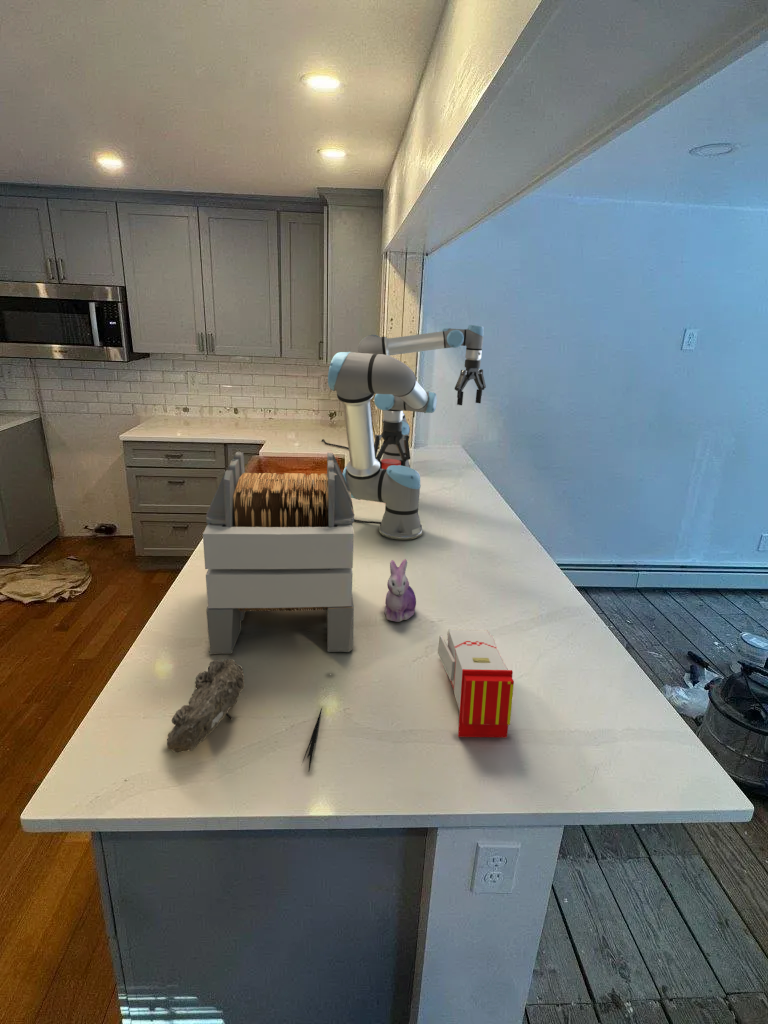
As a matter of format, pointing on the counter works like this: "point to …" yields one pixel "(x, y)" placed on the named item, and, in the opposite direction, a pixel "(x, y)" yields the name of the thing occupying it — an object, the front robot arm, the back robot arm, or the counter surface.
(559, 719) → the counter surface
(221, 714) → the fossil
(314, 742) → the feather
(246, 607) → the record storage crate
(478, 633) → the toy
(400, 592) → the figurine
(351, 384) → the front robot arm
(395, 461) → the tin
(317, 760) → the counter surface
